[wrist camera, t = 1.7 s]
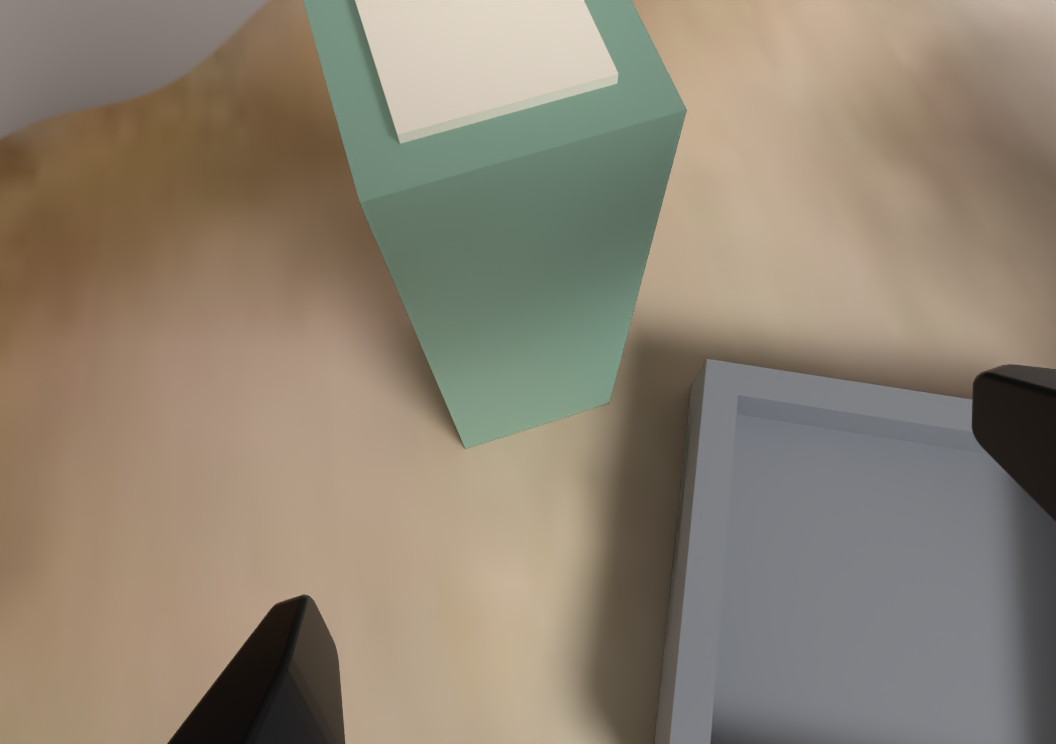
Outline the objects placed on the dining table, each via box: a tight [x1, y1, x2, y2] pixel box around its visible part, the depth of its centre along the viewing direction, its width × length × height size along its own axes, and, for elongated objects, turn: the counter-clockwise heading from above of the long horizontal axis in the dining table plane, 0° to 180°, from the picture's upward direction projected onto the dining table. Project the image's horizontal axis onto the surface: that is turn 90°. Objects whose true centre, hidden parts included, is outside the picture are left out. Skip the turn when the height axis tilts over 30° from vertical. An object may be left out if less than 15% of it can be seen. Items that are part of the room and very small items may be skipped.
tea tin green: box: [303, 0, 687, 449], centre depth 18 cm, size 5×5×14 cm
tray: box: [654, 359, 1056, 744], centre depth 20 cm, size 12×12×2 cm
